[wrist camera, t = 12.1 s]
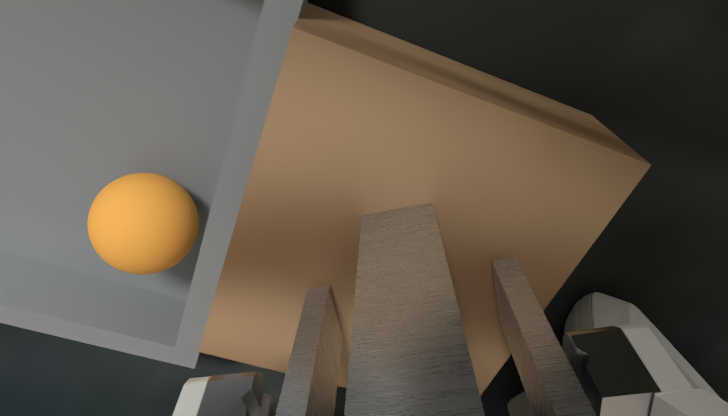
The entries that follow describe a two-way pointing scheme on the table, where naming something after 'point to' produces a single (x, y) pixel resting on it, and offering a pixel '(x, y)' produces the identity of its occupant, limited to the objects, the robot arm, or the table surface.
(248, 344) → the stand
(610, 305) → the digital clock
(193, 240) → the ball
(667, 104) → the table surface
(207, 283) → the tray
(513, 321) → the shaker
